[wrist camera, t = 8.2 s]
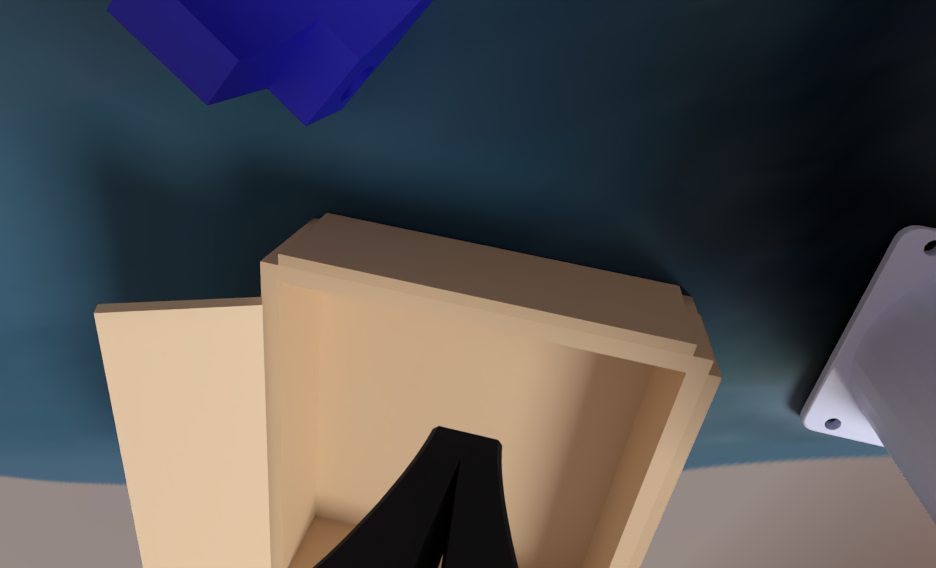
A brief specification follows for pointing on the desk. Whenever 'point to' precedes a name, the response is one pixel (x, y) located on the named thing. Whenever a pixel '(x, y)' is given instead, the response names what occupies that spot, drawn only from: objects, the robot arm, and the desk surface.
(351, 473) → the carton
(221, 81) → the cable clip
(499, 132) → the desk surface
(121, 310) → the carton flap
